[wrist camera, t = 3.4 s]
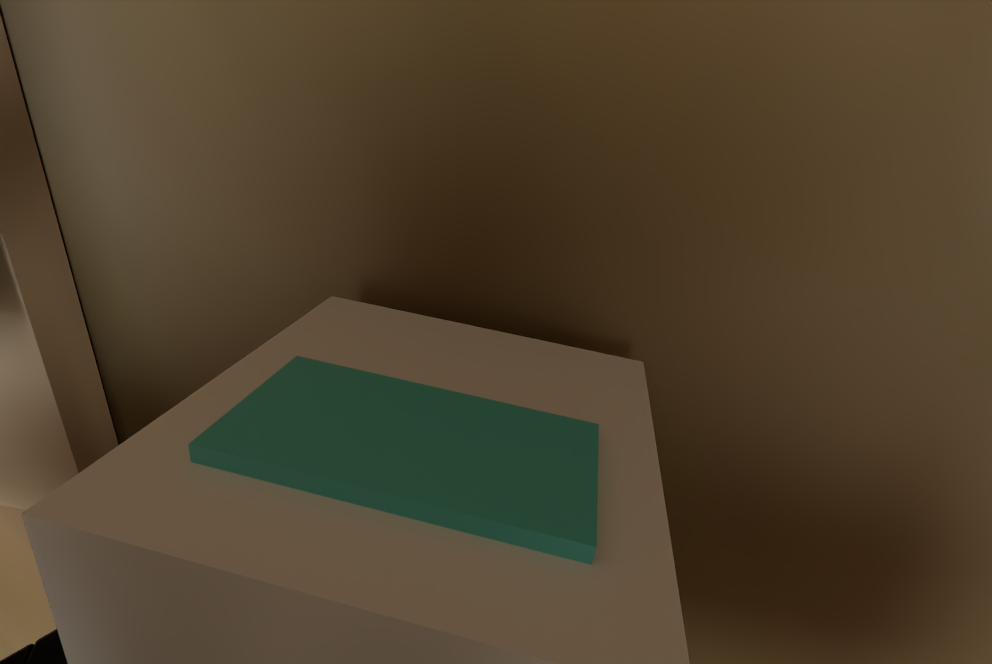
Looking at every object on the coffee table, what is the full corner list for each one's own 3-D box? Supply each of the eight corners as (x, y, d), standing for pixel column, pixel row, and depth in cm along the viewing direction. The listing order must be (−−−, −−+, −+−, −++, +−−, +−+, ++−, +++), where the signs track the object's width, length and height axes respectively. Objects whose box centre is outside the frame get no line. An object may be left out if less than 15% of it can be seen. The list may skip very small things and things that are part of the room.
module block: (546, 688, 11) (507, 1079, 7) (327, 626, 12) (156, 949, 7) (647, 350, 8) (705, 683, 3) (331, 284, 8) (15, 493, 4)
